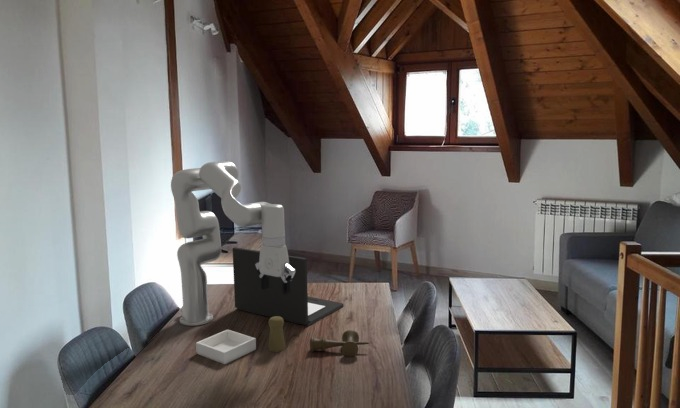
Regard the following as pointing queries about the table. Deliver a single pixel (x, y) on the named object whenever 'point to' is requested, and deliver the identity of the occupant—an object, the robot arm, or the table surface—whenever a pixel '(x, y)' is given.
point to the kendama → (339, 343)
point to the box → (226, 346)
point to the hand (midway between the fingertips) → (275, 290)
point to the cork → (276, 334)
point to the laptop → (277, 291)
